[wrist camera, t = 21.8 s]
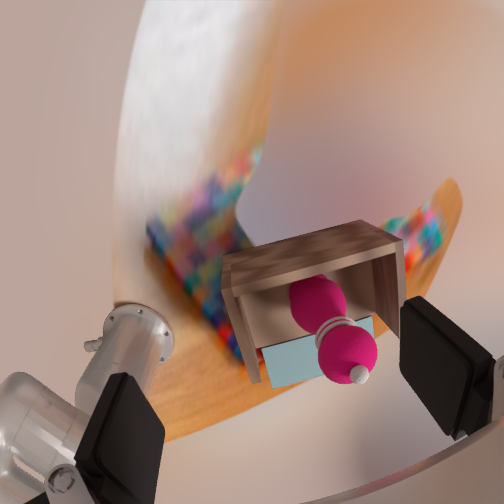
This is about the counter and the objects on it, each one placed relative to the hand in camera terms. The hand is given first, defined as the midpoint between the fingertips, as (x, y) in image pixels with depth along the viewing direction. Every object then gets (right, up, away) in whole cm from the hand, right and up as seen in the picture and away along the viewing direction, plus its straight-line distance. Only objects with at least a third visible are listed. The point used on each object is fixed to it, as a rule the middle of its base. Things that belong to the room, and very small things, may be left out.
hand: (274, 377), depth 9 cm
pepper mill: (+7, -1, +34) cm, 35 cm away
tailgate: (+9, -8, +36) cm, 38 cm away
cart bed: (+7, 0, +38) cm, 39 cm away
